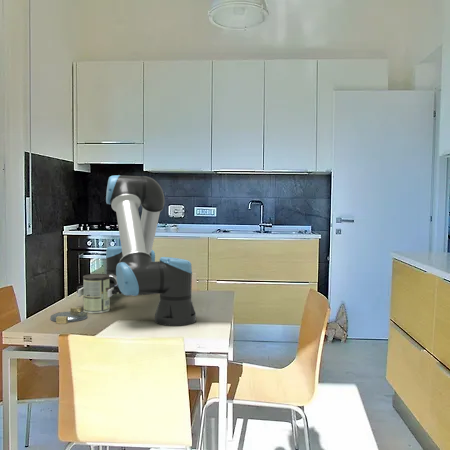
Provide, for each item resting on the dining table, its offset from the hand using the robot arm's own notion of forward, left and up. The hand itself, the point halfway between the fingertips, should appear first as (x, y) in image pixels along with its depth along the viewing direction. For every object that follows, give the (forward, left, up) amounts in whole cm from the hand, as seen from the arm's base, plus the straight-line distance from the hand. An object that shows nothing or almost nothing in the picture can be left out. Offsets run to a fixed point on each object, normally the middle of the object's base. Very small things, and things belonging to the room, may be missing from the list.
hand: (93, 293), depth 182 cm
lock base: (-5, +10, -8) cm, 13 cm away
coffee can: (+3, -2, -8) cm, 9 cm away
